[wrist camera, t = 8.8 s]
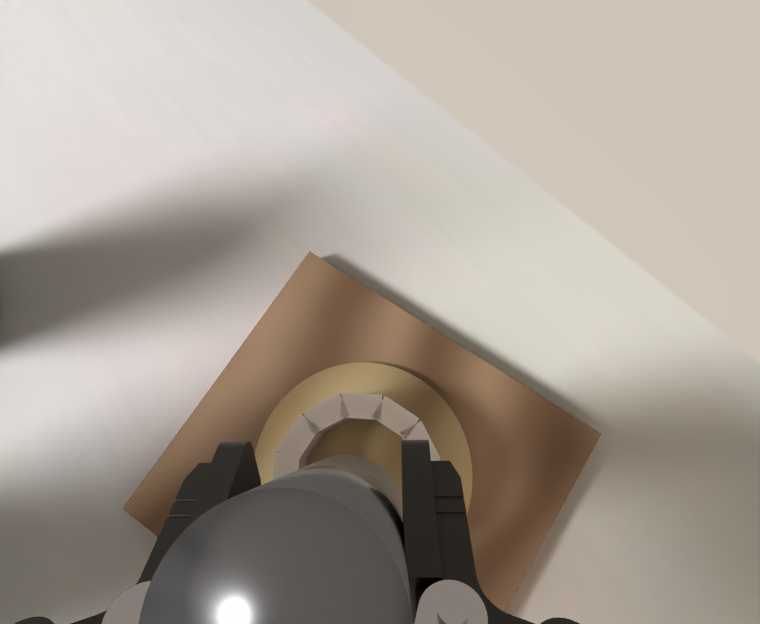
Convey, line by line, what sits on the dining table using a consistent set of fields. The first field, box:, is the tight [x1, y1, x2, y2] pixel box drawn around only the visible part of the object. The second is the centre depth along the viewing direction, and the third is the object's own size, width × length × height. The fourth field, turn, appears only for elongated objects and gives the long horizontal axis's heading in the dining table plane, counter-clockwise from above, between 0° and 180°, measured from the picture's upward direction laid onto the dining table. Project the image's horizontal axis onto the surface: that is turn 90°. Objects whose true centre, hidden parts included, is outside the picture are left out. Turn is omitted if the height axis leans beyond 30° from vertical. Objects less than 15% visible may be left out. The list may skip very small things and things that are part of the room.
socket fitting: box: [123, 252, 601, 612], centre depth 25 cm, size 20×18×6 cm
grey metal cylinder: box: [139, 454, 412, 624], centre depth 11 cm, size 4×4×10 cm
